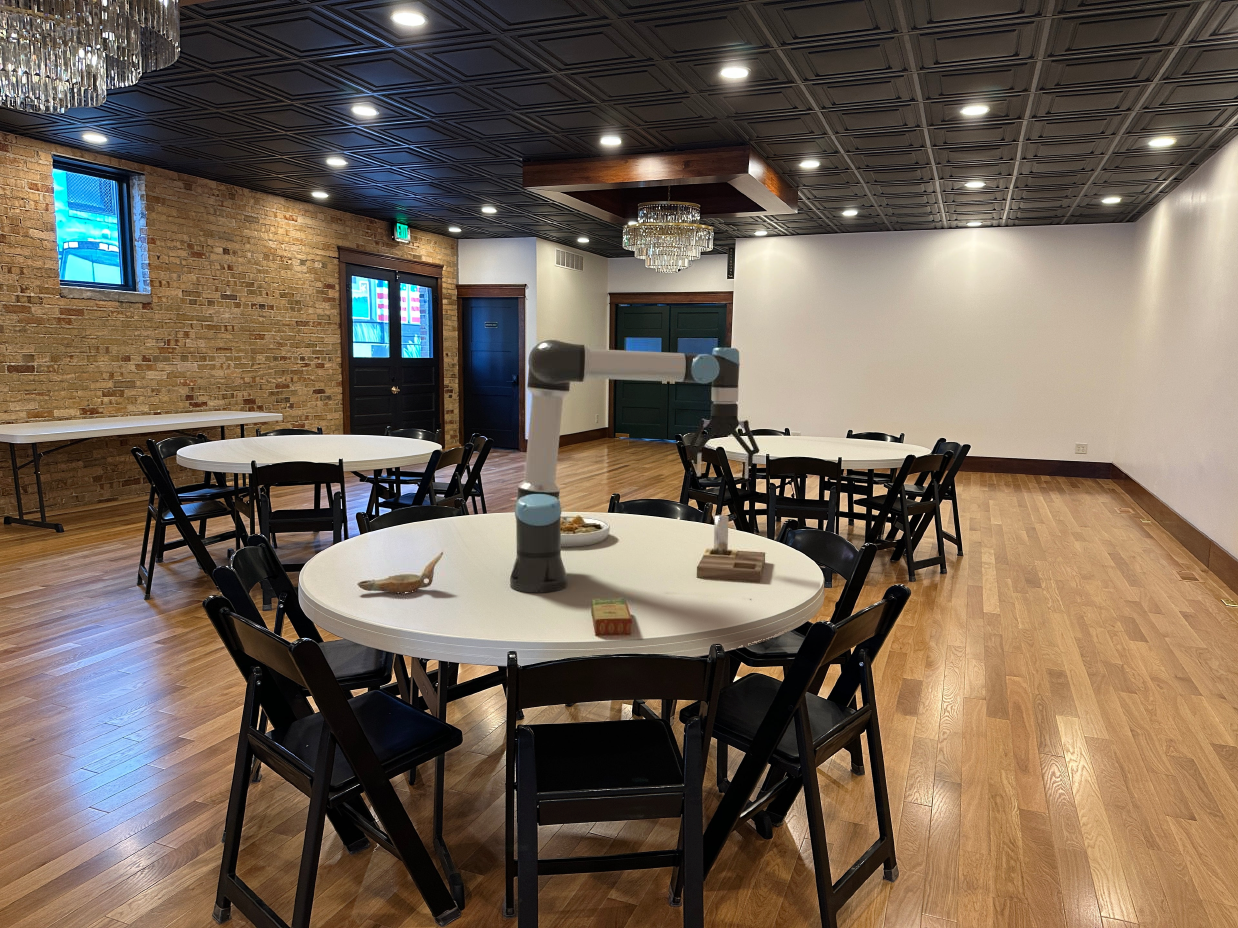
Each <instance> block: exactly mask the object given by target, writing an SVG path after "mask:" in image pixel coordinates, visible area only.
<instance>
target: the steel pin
mask: <svg viewBox="0 0 1238 928" xmlns="http://www.w3.org/2000/svg"><path fill="white" fill-rule="evenodd" d="M713 528H714V529H713V530H714V531H713V548H714V555H728V549H729V548H728V547H729V545H728V544H729V516H728V515H726V514H717V515H714V527H713Z"/></svg>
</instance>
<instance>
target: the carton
mask: <svg viewBox="0 0 1238 928" xmlns="http://www.w3.org/2000/svg"><path fill="white" fill-rule="evenodd" d="M590 613H591V619H592V623H593V624H592V625H593V630H594V636H595V637H598V636H600V637H601V636H602V637H603V636H605V637H606V636H607V637H608V636H609V637H611V636H632V632H633V631H632V627H633V618H632V615H631V612H630V608H629V606H628V602H627V599H626V597H605V598H604V597H603V598H602V597H600V598H595V597H594V598H591V609H590Z"/></svg>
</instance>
